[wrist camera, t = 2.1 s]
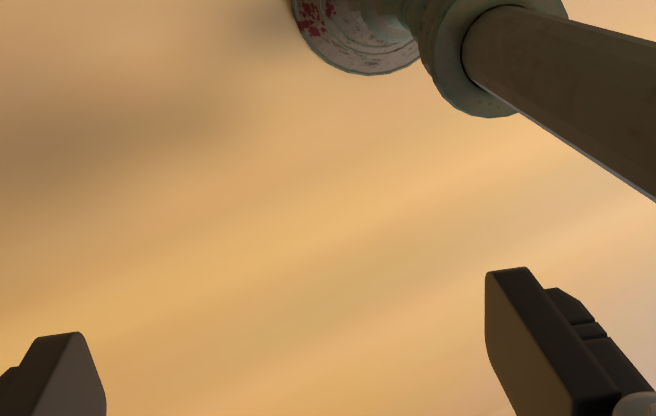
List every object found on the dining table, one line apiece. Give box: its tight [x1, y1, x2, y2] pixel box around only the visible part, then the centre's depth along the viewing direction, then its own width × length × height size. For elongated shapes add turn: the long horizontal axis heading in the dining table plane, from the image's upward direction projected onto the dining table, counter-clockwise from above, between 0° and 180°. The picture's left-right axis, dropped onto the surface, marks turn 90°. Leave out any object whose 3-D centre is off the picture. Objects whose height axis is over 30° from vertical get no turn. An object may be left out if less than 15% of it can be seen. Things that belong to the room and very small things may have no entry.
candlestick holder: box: [291, 0, 656, 203], centre depth 18 cm, size 9×9×30 cm
